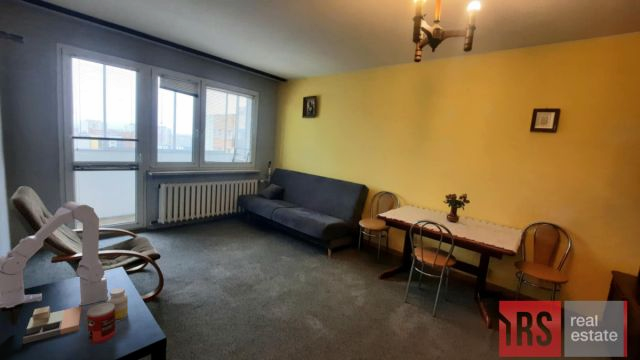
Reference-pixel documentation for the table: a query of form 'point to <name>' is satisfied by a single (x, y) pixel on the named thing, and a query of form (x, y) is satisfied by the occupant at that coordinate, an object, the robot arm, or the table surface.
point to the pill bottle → (119, 303)
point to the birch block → (41, 315)
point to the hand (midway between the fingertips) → (14, 323)
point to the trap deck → (54, 325)
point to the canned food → (101, 322)
